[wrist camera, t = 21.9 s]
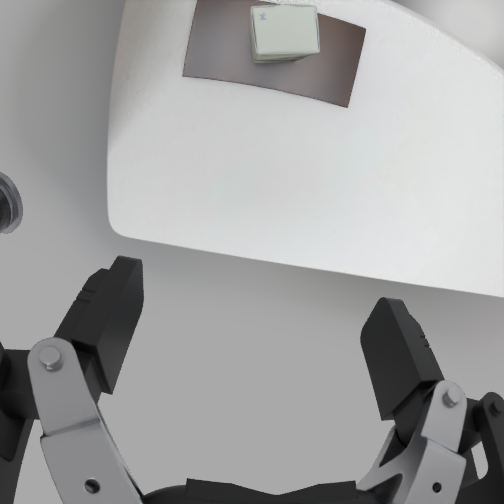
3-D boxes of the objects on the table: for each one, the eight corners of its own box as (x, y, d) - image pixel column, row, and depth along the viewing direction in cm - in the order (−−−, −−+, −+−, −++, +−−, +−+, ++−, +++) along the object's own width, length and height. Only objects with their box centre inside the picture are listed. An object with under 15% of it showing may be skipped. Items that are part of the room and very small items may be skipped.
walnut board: (183, 76, 31) (182, 76, 31) (199, -5, 25) (198, -6, 25) (346, 107, 33) (347, 108, 33) (364, 29, 27) (366, 28, 27)
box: (253, 63, 30) (251, 56, 19) (249, 29, 28) (246, 5, 17) (299, 61, 30) (321, 54, 19) (296, 27, 27) (316, 3, 17)
